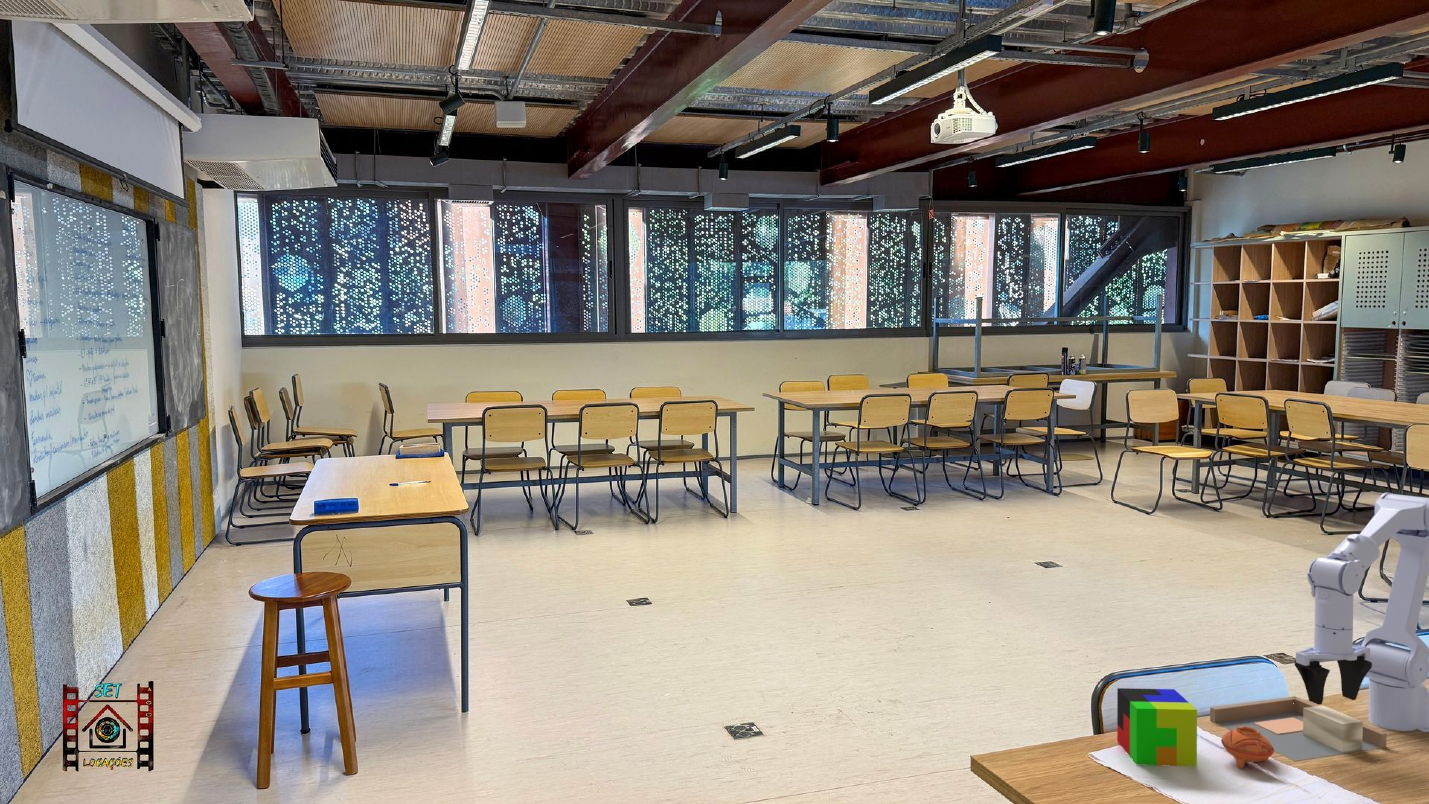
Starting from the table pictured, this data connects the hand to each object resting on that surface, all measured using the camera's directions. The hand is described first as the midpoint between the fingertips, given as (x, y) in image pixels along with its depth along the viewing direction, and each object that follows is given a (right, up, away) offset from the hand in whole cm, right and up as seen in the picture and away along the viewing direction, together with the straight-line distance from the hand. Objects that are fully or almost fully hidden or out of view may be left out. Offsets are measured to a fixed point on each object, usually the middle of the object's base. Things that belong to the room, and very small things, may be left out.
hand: (1332, 700), depth 167 cm
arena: (-4, -8, +4) cm, 10 cm away
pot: (-19, -9, -6) cm, 22 cm away
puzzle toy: (-32, -9, -1) cm, 34 cm away
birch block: (0, -8, 0) cm, 8 cm away
